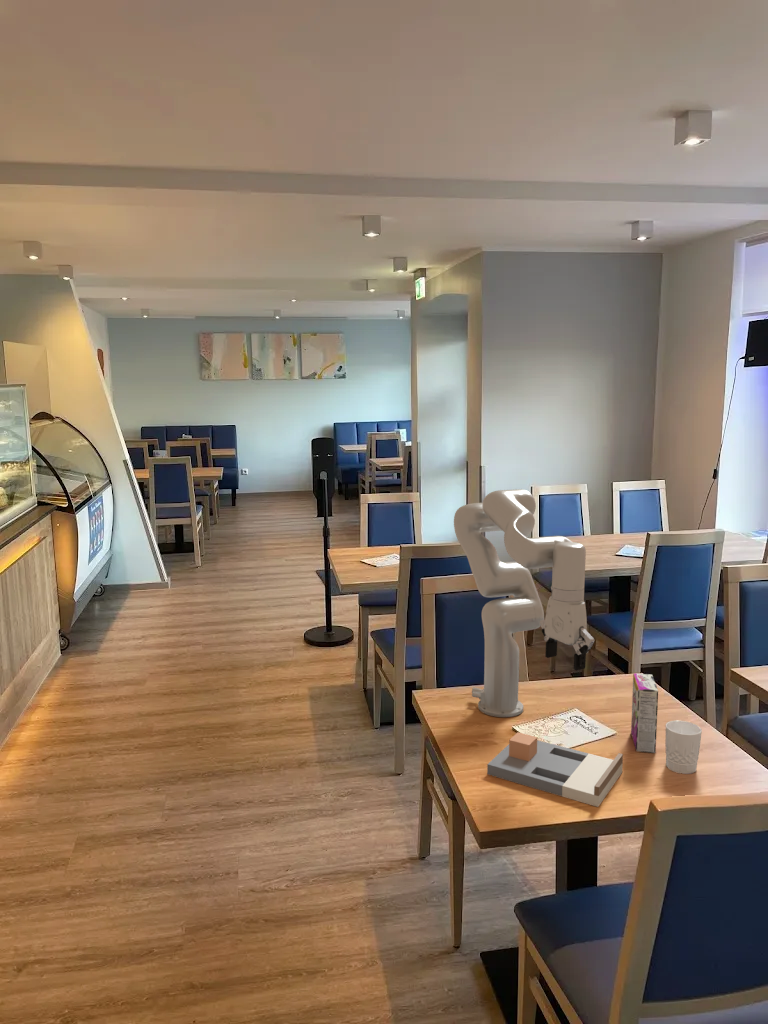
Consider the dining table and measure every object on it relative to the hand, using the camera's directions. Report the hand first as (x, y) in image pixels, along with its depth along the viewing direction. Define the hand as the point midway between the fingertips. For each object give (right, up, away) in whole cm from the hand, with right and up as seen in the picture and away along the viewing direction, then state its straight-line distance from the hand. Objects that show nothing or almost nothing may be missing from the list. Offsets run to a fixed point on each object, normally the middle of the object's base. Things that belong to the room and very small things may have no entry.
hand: (564, 662), depth 182 cm
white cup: (+27, -24, -4) cm, 36 cm away
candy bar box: (+22, -22, +9) cm, 32 cm away
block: (-11, -21, -3) cm, 24 cm away
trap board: (-4, -24, -7) cm, 26 cm away
